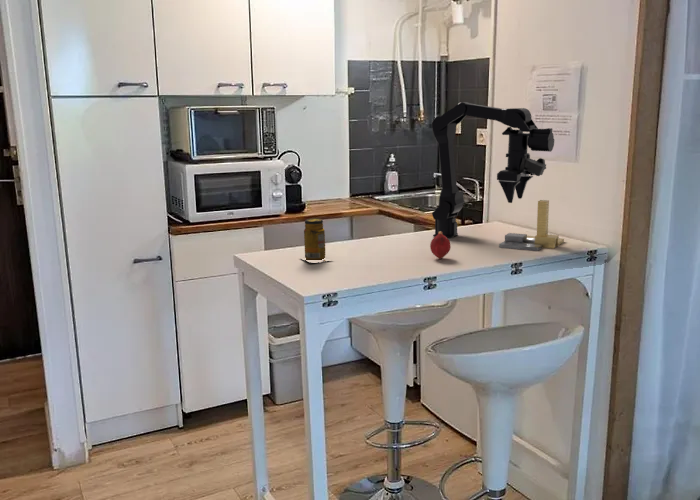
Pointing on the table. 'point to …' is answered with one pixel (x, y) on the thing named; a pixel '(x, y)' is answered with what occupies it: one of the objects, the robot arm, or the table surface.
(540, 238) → the brass block assembly
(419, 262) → the table surface
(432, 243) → the onion
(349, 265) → the table surface
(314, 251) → the condiment
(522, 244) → the fixed leaf
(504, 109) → the robot arm
